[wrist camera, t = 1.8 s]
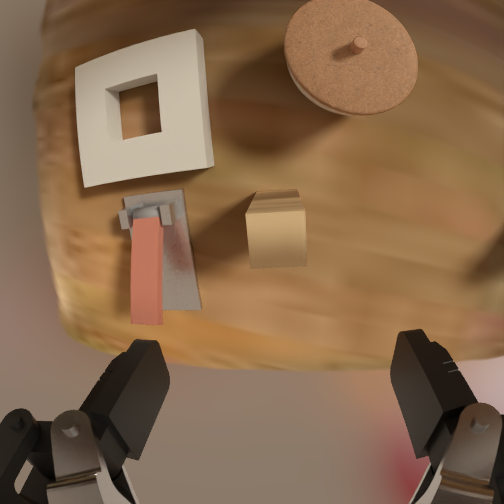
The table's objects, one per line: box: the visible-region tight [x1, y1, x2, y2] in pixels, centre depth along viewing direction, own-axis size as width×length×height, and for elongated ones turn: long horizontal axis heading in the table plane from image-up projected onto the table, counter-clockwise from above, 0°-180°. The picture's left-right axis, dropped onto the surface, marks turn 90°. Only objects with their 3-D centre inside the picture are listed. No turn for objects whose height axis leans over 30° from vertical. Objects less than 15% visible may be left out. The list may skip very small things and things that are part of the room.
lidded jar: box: [284, 0, 418, 116], centre depth 20 cm, size 11×11×9 cm
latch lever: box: [131, 206, 164, 325], centre depth 28 cm, size 12×3×2 cm
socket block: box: [75, 29, 214, 188], centre depth 26 cm, size 14×14×3 cm
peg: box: [245, 189, 307, 269], centre depth 25 cm, size 4×4×10 cm
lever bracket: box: [118, 189, 202, 310], centre depth 31 cm, size 14×7×3 cm, turn 5°
